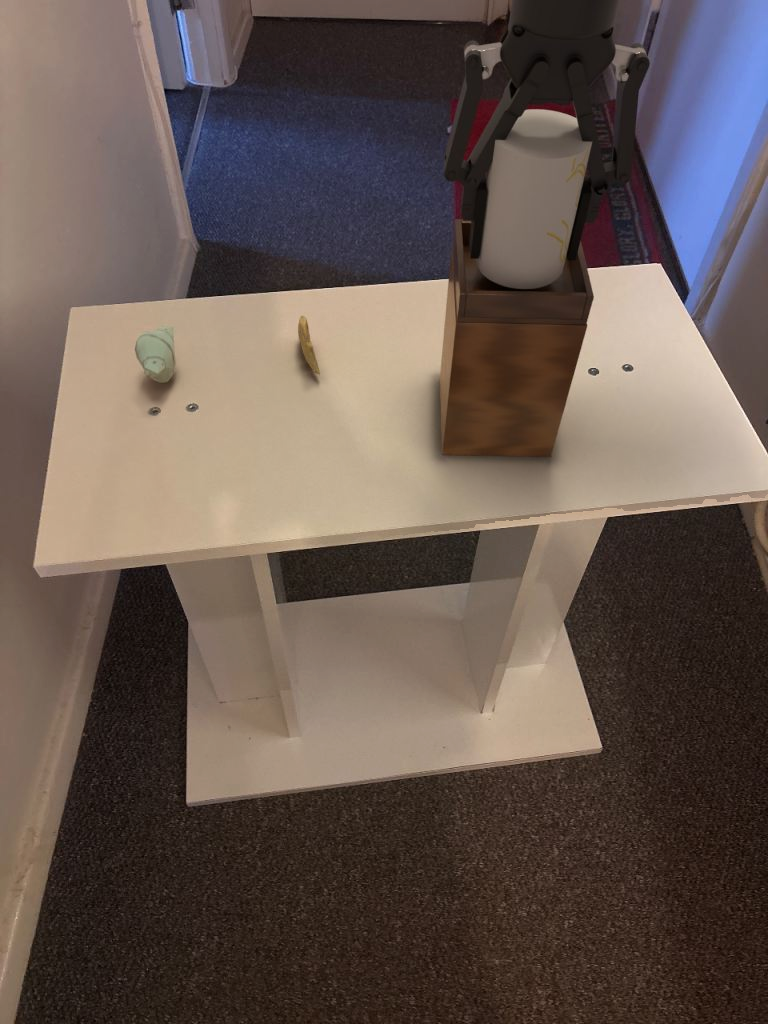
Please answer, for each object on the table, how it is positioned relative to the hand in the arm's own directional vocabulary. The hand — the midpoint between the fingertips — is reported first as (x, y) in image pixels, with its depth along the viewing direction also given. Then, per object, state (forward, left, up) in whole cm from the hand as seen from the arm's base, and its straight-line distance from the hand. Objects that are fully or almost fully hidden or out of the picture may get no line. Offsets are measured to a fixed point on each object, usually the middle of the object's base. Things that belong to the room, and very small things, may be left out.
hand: (521, 250), depth 69 cm
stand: (0, 0, -22) cm, 22 cm away
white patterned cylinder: (0, 0, -1) cm, 1 cm away
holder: (0, 0, -4) cm, 4 cm away
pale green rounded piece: (+39, -5, -22) cm, 45 cm away
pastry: (+22, -9, -22) cm, 32 cm away
